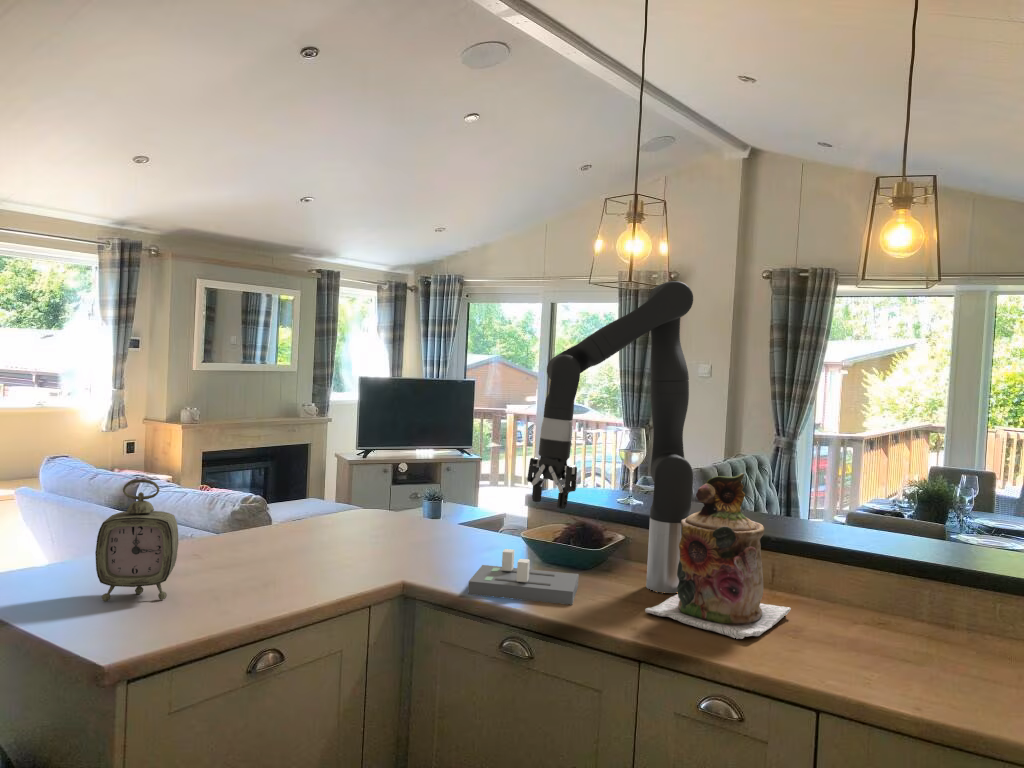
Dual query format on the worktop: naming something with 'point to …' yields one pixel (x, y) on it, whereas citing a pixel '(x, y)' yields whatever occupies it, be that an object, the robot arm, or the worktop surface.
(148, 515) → the tabletop clock
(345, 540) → the worktop surface
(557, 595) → the slider control panel
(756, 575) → the cookie jar
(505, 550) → the block
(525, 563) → the block
